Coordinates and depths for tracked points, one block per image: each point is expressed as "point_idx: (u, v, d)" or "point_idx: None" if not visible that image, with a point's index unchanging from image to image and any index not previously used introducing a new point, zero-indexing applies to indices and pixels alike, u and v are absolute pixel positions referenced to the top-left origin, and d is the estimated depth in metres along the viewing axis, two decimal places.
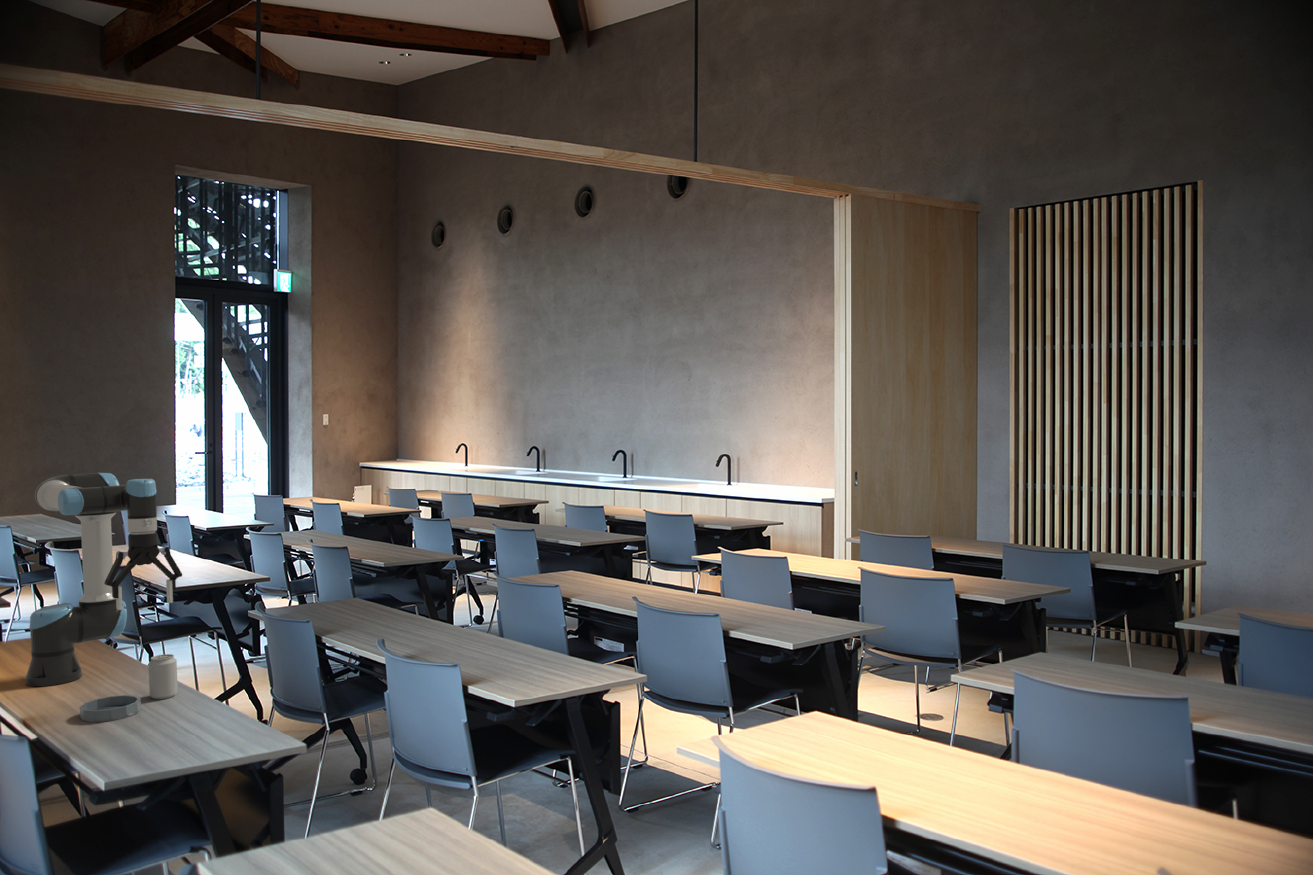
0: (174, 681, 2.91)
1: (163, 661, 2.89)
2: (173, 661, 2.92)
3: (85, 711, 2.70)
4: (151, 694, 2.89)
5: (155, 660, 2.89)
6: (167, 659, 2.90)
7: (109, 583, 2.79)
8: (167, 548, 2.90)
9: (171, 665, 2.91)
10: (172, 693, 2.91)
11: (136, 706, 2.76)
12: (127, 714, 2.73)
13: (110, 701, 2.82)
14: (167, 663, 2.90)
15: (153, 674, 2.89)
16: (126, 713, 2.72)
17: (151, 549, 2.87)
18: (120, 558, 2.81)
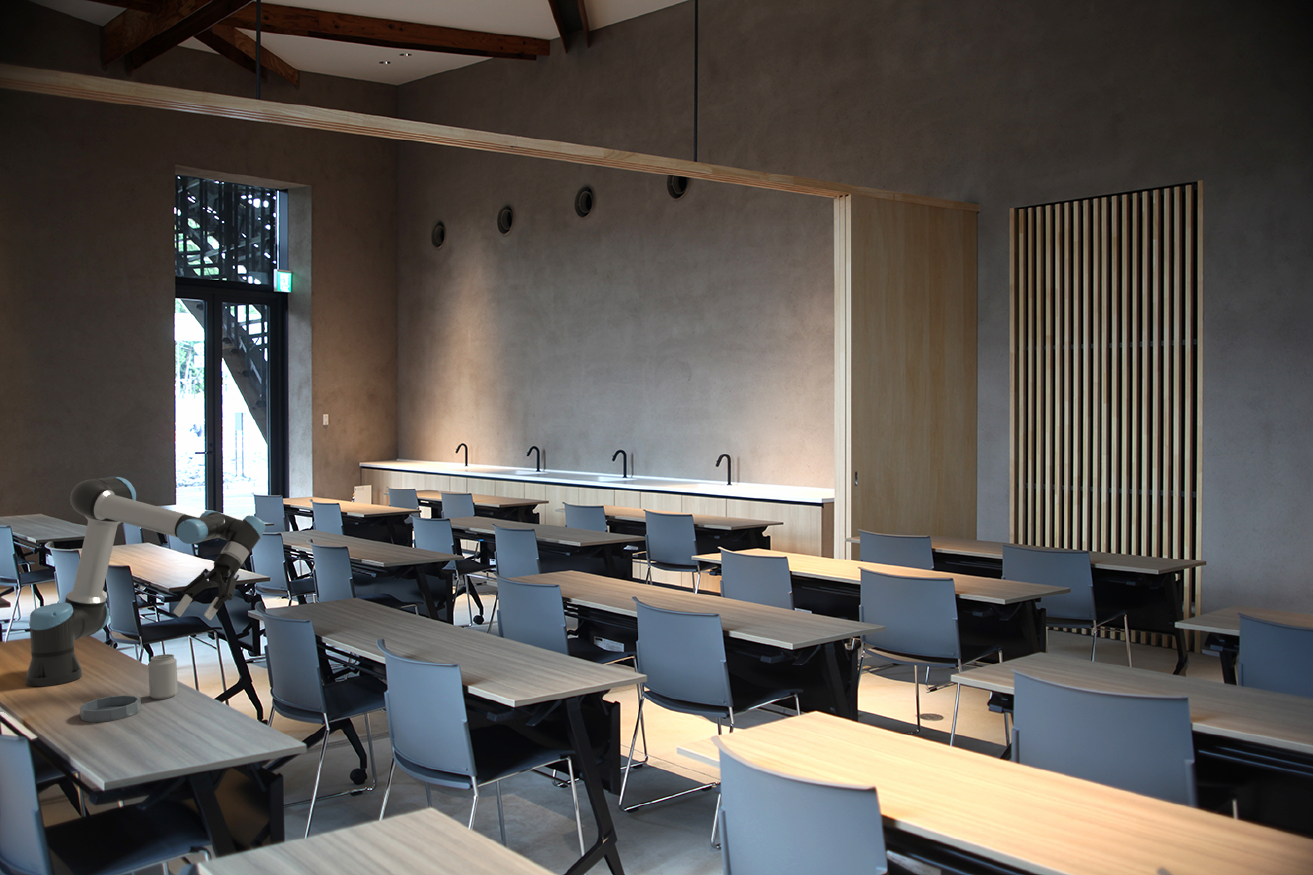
0: (174, 681, 2.91)
1: (163, 661, 2.89)
2: (173, 661, 2.92)
3: (85, 711, 2.70)
4: (151, 694, 2.89)
5: (155, 660, 2.89)
6: (167, 659, 2.90)
7: None
8: None
9: (171, 665, 2.91)
10: (172, 693, 2.91)
11: (136, 706, 2.76)
12: (127, 714, 2.73)
13: (110, 701, 2.82)
14: (167, 663, 2.89)
15: (153, 675, 2.89)
16: (126, 713, 2.72)
17: None
18: None
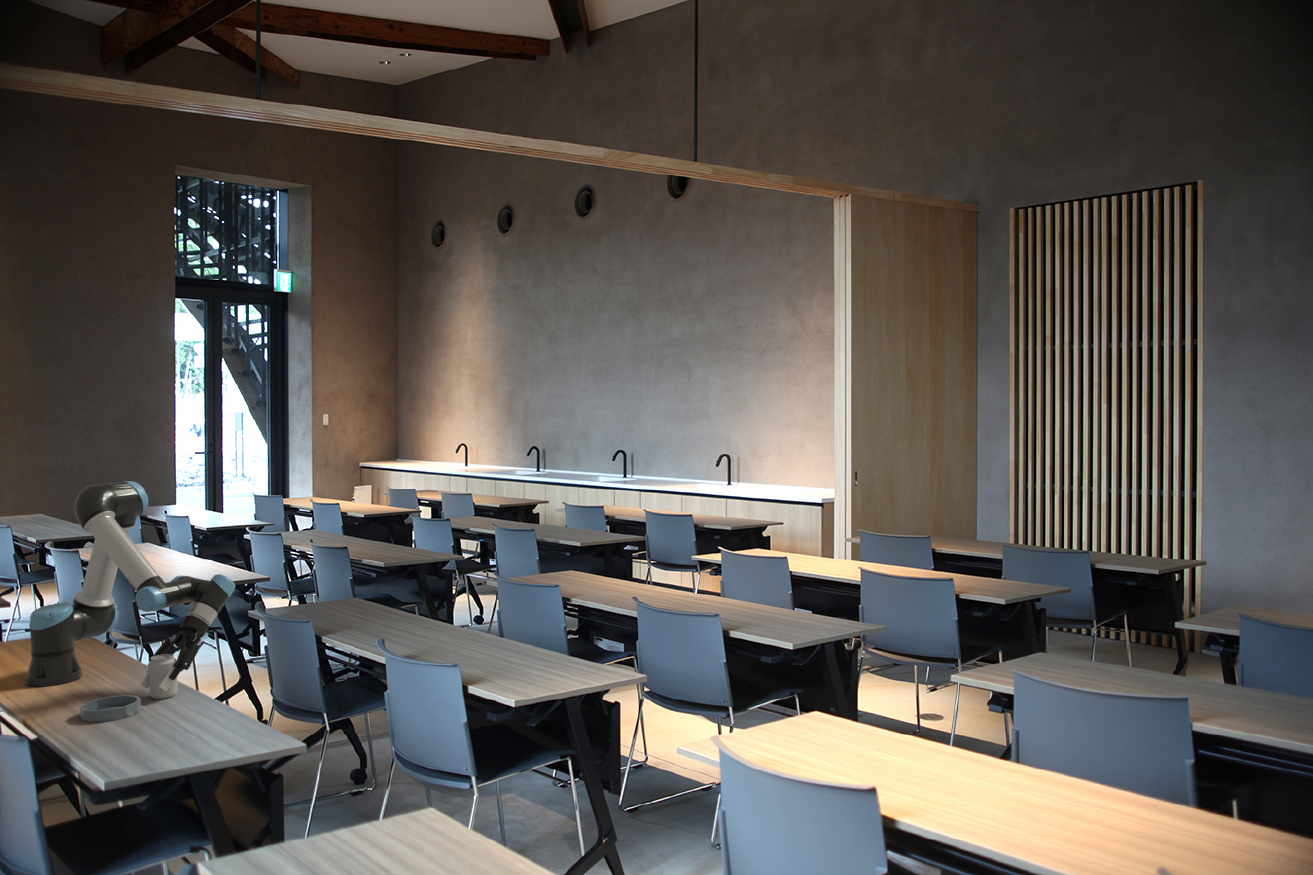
0: (174, 681, 2.91)
1: (163, 661, 2.89)
2: (173, 661, 2.92)
3: (85, 711, 2.70)
4: (151, 694, 2.89)
5: (155, 660, 2.89)
6: (167, 659, 2.90)
7: None
8: None
9: (171, 665, 2.91)
10: (172, 693, 2.91)
11: (136, 706, 2.76)
12: (127, 714, 2.73)
13: (110, 701, 2.82)
14: (167, 663, 2.89)
15: (153, 674, 2.89)
16: (126, 713, 2.72)
17: None
18: None
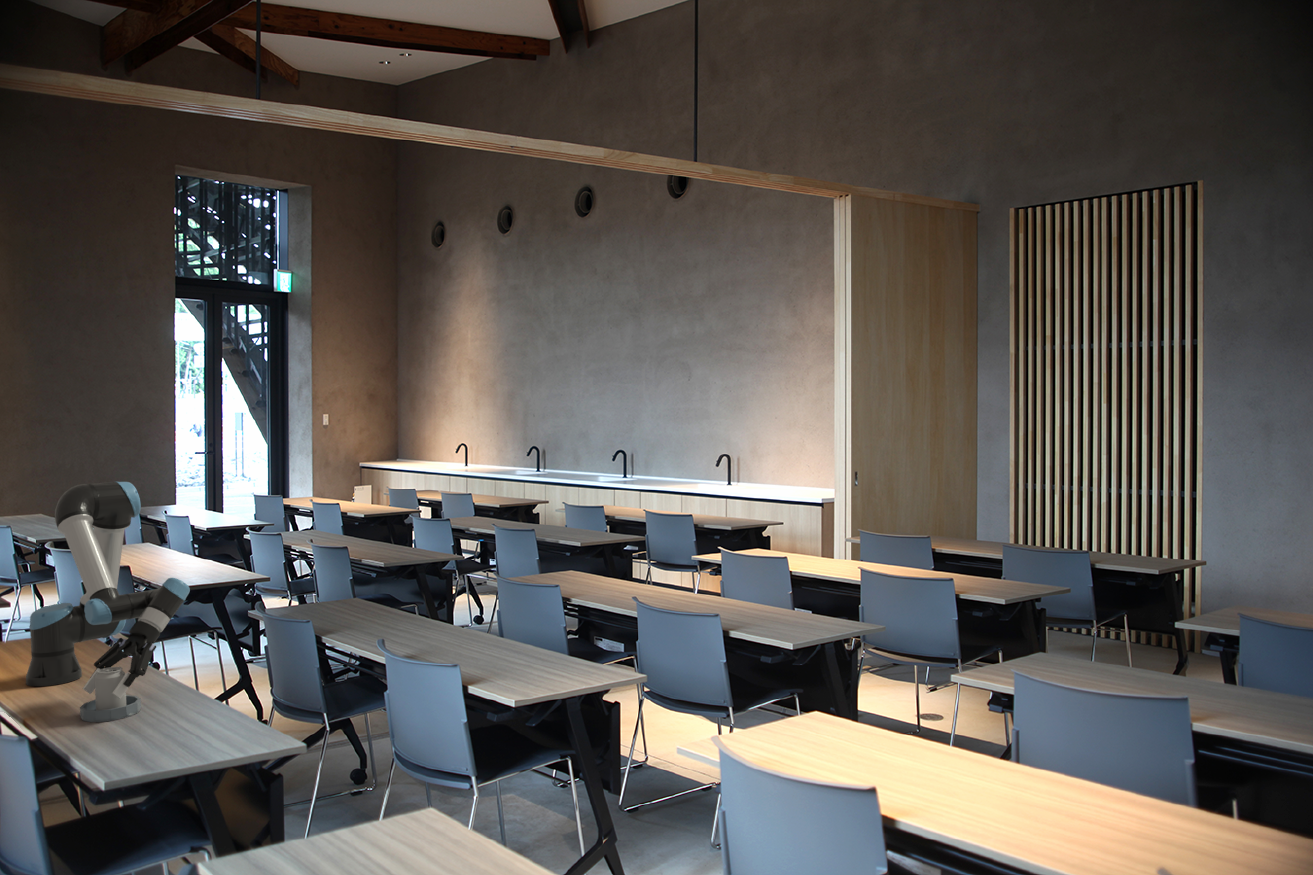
0: None
1: (110, 674, 2.73)
2: (121, 674, 2.76)
3: (85, 711, 2.70)
4: (97, 709, 2.73)
5: (101, 673, 2.73)
6: (114, 672, 2.74)
7: None
8: None
9: (119, 679, 2.74)
10: None
11: (136, 706, 2.76)
12: (127, 714, 2.73)
13: None
14: (114, 677, 2.73)
15: (99, 689, 2.72)
16: (126, 713, 2.72)
17: None
18: None
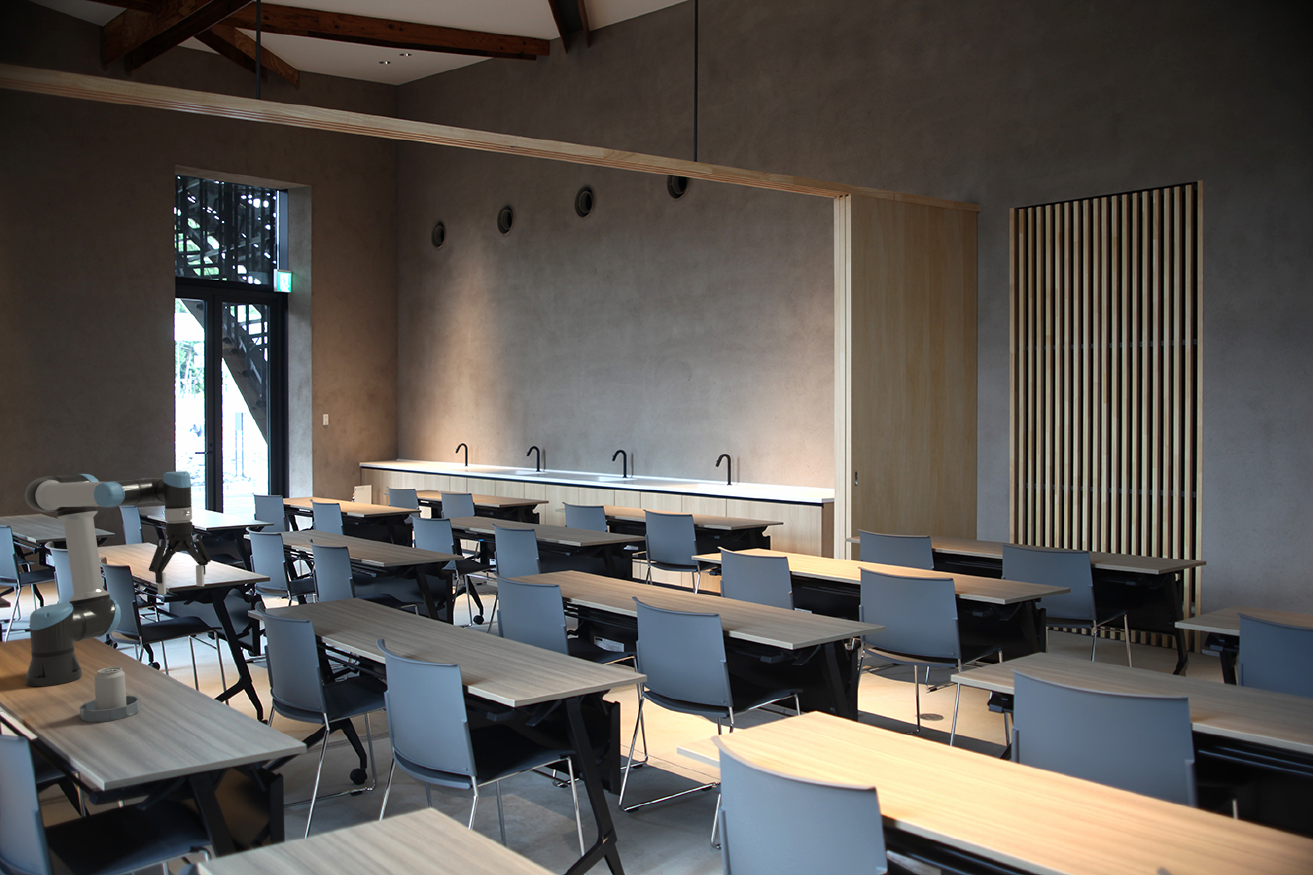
0: (122, 695, 2.75)
1: (110, 674, 2.73)
2: (121, 674, 2.76)
3: (85, 711, 2.70)
4: (97, 709, 2.73)
5: (101, 673, 2.73)
6: (114, 672, 2.74)
7: (155, 569, 2.98)
8: (199, 535, 3.11)
9: (119, 679, 2.74)
10: None
11: (136, 706, 2.76)
12: (127, 714, 2.73)
13: None
14: (114, 677, 2.73)
15: (99, 689, 2.72)
16: (126, 713, 2.72)
17: (187, 537, 3.08)
18: (163, 545, 3.00)
